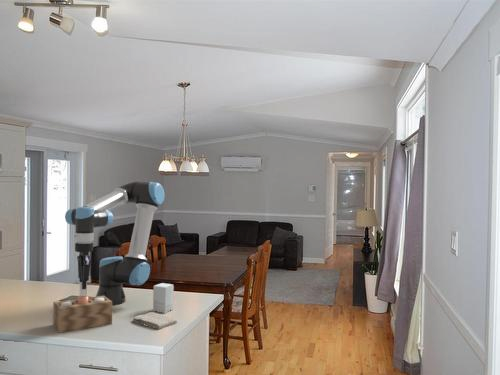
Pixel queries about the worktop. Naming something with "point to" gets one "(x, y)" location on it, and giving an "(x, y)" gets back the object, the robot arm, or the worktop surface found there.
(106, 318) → the walnut socket block
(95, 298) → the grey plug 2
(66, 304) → the grey plug
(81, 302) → the terracotta plug
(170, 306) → the supplement box
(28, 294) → the worktop surface
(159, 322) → the washcloth
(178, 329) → the worktop surface
